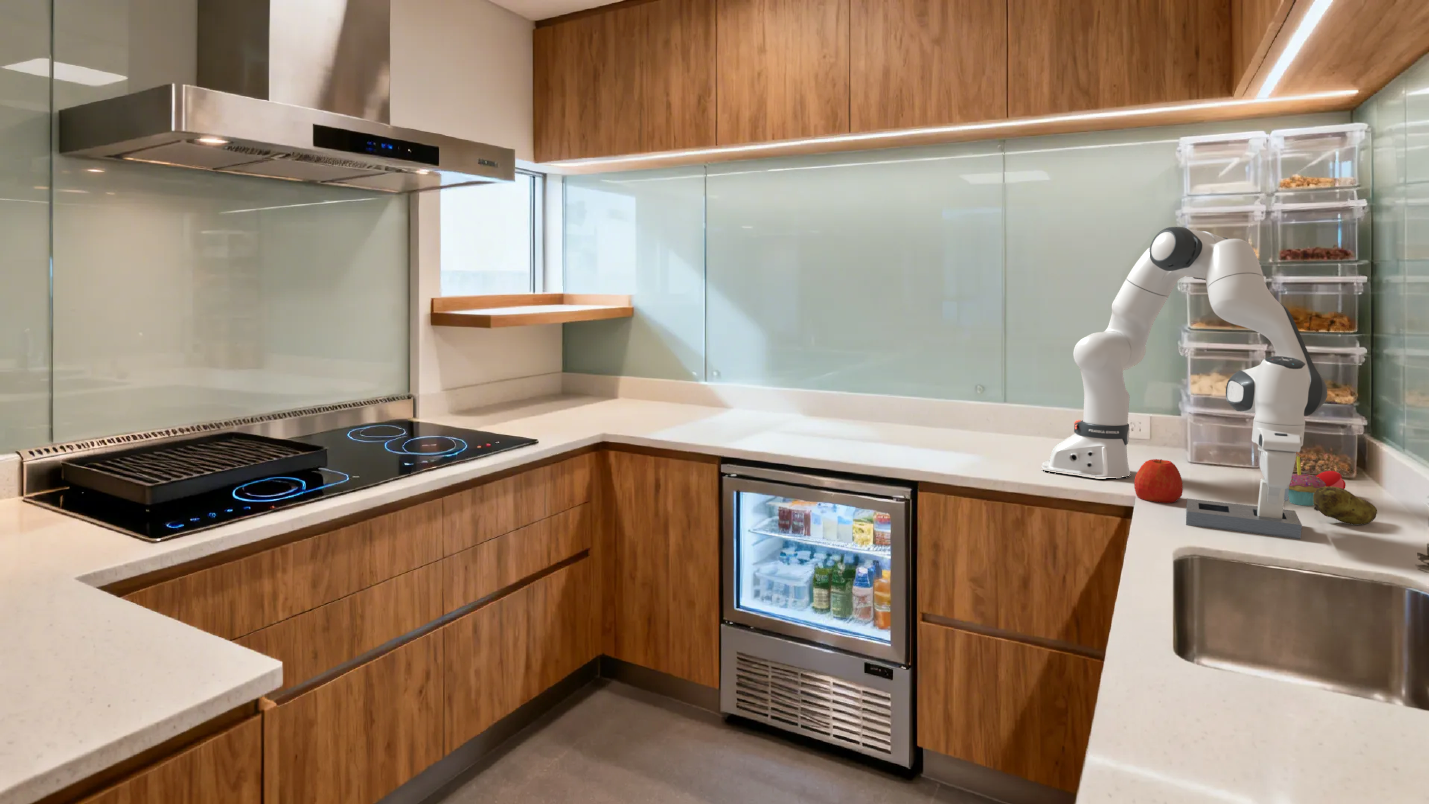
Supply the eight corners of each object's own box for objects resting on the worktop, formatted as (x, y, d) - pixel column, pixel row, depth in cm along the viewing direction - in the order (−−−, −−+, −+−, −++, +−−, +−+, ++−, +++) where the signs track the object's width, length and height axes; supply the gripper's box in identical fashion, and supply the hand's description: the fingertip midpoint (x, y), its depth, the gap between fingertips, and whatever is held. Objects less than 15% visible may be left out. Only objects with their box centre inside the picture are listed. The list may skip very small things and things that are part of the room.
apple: (1140, 506, 190) (1144, 462, 188) (1126, 494, 200) (1130, 453, 198) (1188, 508, 188) (1192, 464, 186) (1171, 496, 198) (1175, 454, 196)
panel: (1185, 527, 173) (1187, 511, 172) (1185, 513, 183) (1186, 498, 183) (1300, 542, 163) (1301, 525, 162) (1293, 526, 173) (1294, 510, 173)
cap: (1330, 478, 203) (1310, 466, 203) (1352, 475, 197) (1331, 463, 197) (1320, 505, 201) (1300, 493, 201) (1342, 504, 195) (1321, 491, 195)
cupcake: (1291, 507, 188) (1296, 457, 187) (1272, 497, 197) (1277, 449, 195) (1332, 508, 187) (1338, 458, 185) (1311, 499, 195) (1316, 450, 194)
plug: (1258, 524, 170) (1262, 482, 168) (1256, 519, 173) (1260, 478, 172) (1285, 527, 167) (1289, 485, 166) (1283, 522, 171) (1287, 481, 169)
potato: (1389, 530, 170) (1393, 494, 169) (1318, 526, 174) (1322, 489, 173) (1369, 519, 178) (1373, 484, 177) (1302, 515, 182) (1305, 480, 181)
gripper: (1255, 426, 178) (1249, 487, 180) (1263, 442, 161) (1256, 509, 163) (1290, 429, 175) (1283, 490, 177) (1302, 445, 157) (1294, 514, 159)
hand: (1270, 500), depth 170 cm, fingers closed on plug, 4 cm apart
